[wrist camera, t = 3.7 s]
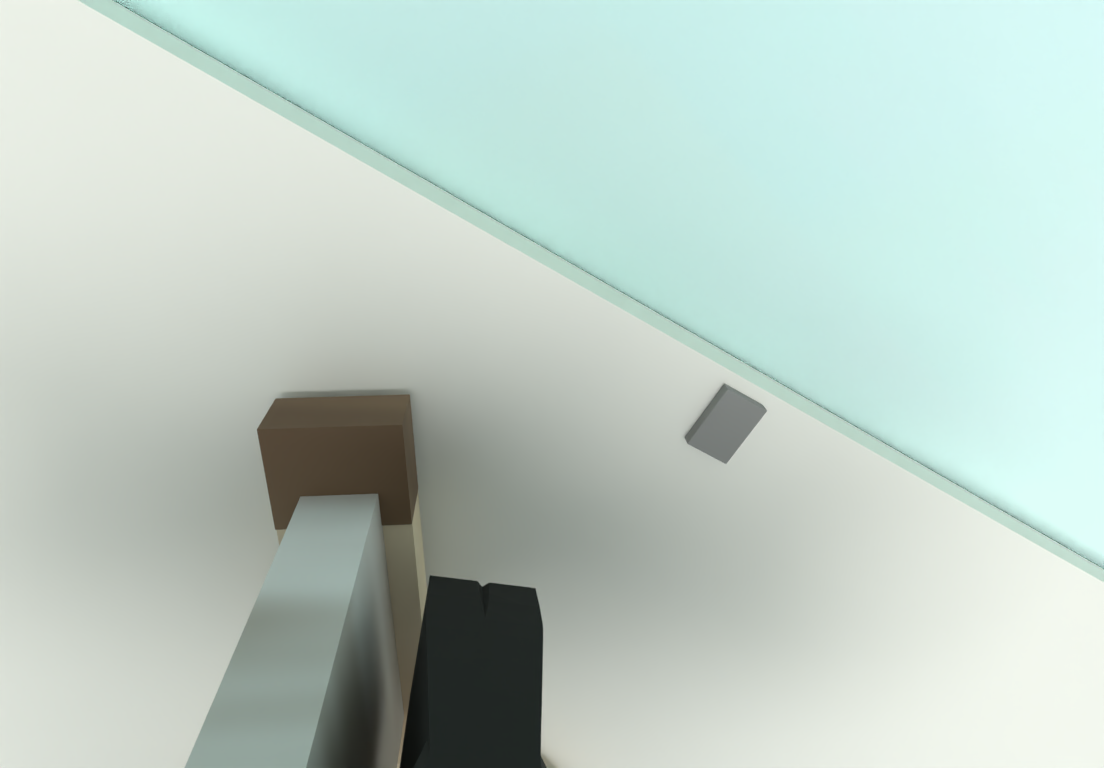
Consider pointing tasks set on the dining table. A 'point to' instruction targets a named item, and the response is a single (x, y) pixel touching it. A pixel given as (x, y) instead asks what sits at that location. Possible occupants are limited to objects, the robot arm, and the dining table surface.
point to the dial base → (454, 456)
